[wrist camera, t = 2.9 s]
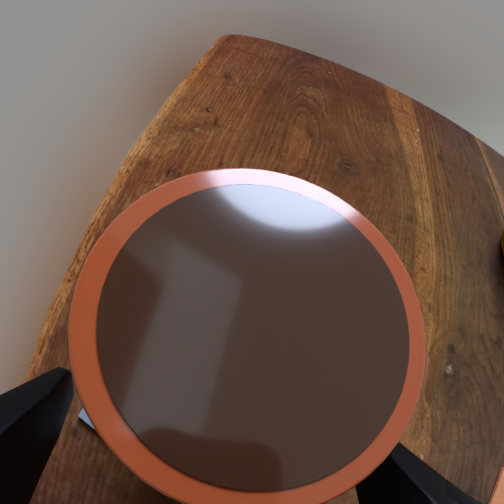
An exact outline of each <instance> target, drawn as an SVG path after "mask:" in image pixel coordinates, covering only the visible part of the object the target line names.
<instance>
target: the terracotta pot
mask: <svg viewBox="0 0 504 504" xmlns="http://www.w3.org/2000/svg"><path fill="white" fill-rule="evenodd" d="M68 344H69V359H70V364H71V369H72V374H73V378H74V383H75V387H76V389H77V392H78V395H79V397H80V400H81V403H82V405H83V408H84V410H85V412H86V414H87V416H88V418H89V420H90V421H91V423H92V425H93V427H94V428H95V430H96V432H97V433H98V435H99V437H100V438H101V439H102V441H103V442H104V443H105V444H106V446H107V447H108V448H109V449H110V451H111V452H112V453H113V454H114V456H115V457H116V458H117V459H118V460H119V461H120V462H121V463H122V464H123V465H124V466H125V467H126V468H128V469H129V470H130V471H131V472H132V473H133V474H134V475H135V476H136V477H138V478H139V479H140V480H142V481H143V482H145V483H146V484H148V485H149V486H151V487H152V488H154V489H155V490H157V491H158V492H160V493H161V494H163V495H165V496H167V497H169V498H171V499H173V500H176V501H178V502H180V503H182V504H324V503H326V502H328V501H330V500H332V499H334V498H336V497H338V496H340V495H342V494H344V493H346V492H347V491H349V490H350V489H352V488H353V487H354V486H356V485H357V484H359V483H360V482H361V481H363V480H364V479H365V478H367V477H368V476H369V475H370V474H371V473H372V472H373V471H374V470H375V469H376V468H377V467H378V466H379V465H380V464H381V463H382V462H383V461H384V460H385V459H386V458H387V456H388V455H389V454H390V453H391V451H392V450H393V449H394V447H395V446H396V445H397V443H398V442H399V440H400V439H401V437H402V435H403V433H404V432H405V430H406V428H407V427H408V425H409V423H410V420H411V418H412V416H413V413H414V411H415V408H416V406H417V403H418V400H419V396H420V392H421V389H422V385H423V379H424V372H425V364H426V337H425V328H424V320H423V316H422V311H421V307H420V303H419V300H418V297H417V294H416V291H415V288H414V285H413V283H412V281H411V279H410V277H409V274H408V272H407V270H406V268H405V266H404V264H403V263H402V261H401V260H400V258H399V256H398V255H397V253H396V252H395V250H394V248H393V247H392V246H391V245H390V243H389V242H388V241H387V239H386V238H385V237H384V236H383V234H382V233H381V232H380V231H379V230H378V229H377V228H376V227H375V226H374V225H373V224H372V223H371V222H370V221H369V220H368V219H367V218H366V217H365V216H364V215H363V214H361V213H360V212H359V211H358V210H357V209H356V208H354V207H353V206H352V205H350V204H349V203H347V202H346V201H344V200H343V199H341V198H340V197H339V196H337V195H335V194H333V193H332V192H330V191H328V190H326V189H324V188H322V187H321V186H318V185H316V184H314V183H311V182H309V181H306V180H304V179H301V178H298V177H295V176H292V175H288V174H285V173H281V172H276V171H270V170H265V169H255V168H221V169H214V170H207V171H201V172H197V173H194V174H190V175H186V176H183V177H180V178H178V179H175V180H172V181H170V182H167V183H165V184H163V185H161V186H159V187H157V188H155V189H154V190H152V191H150V192H148V193H146V194H145V195H143V196H142V197H141V198H139V199H138V200H136V201H135V202H134V203H132V204H131V205H130V206H128V207H127V208H126V209H125V210H124V211H123V212H122V213H121V214H120V215H119V216H118V217H117V218H115V219H114V220H113V221H112V222H111V224H110V225H109V226H108V227H107V229H106V230H105V231H104V232H103V234H102V235H101V236H100V237H99V239H98V240H97V242H96V243H95V245H94V247H93V248H92V250H91V252H90V253H89V255H88V257H87V259H86V261H85V263H84V265H83V268H82V270H81V272H80V275H79V277H78V280H77V283H76V286H75V290H74V294H73V298H72V302H71V307H70V316H69V326H68Z"/></svg>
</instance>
